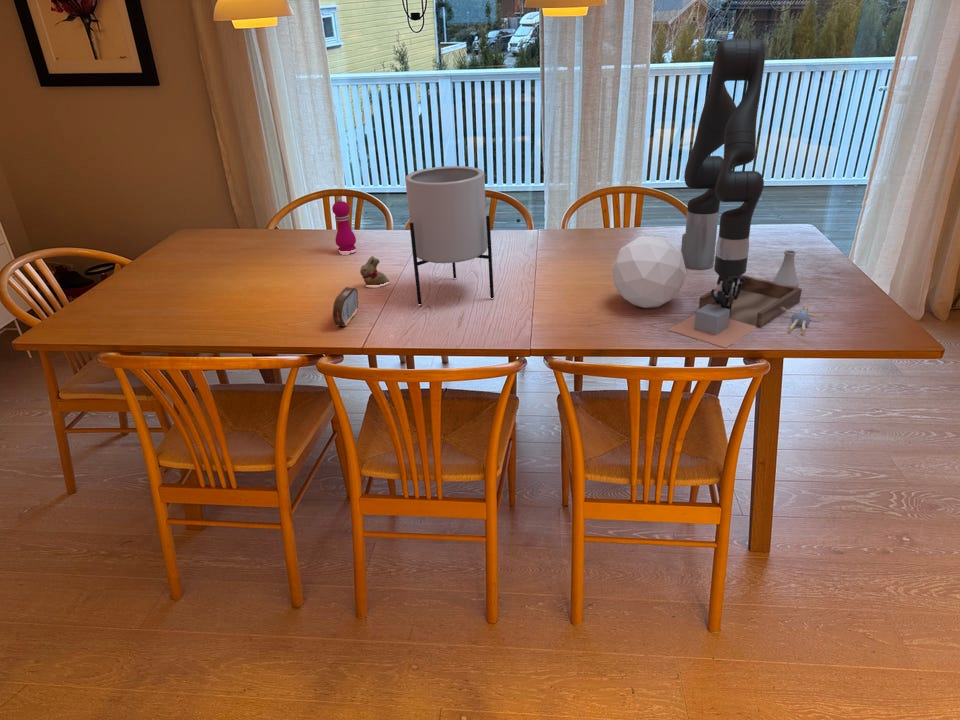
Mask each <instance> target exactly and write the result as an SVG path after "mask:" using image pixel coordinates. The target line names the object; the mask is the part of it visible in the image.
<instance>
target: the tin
mask: <svg viewBox="0 0 960 720" xmlns="http://www.w3.org/2000/svg"><path fill="white" fill-rule="evenodd" d="M357 308H358V309H359V295H358V290H357V288H355V287H349V286H345V287H344V288H343V289H342V291H340V293H338V295H337V296H336V298H335V300H334V303H333V307H332V319H333V322H334V326H336V325H345V323H346V321H347V320H348V319H349V318H350V317H351V316H352V314H353V313H354V312H355V310H356V309H357Z"/></svg>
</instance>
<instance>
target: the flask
mask: <svg viewBox="0 0 960 720" xmlns="http://www.w3.org/2000/svg"><path fill="white" fill-rule="evenodd" d="M783 254H784V257H783V261H782V263H781V266H780V268H779V270H778V272H777V273H776V275H775V277H774V279H773V280H772V282H775V283H780V284H784V285H788V286H793V287H797V288H799V285H800V284H799V280H798V277H797V276H798V275H797V271H796V267H795V256H796V255H797V251H796V250H791V249H786V250H785V249H784V251H783Z"/></svg>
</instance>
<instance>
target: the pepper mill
mask: <svg viewBox="0 0 960 720" xmlns="http://www.w3.org/2000/svg"><path fill="white" fill-rule="evenodd" d="M350 208H351V207H350V205H349V204H348V202H346V201H345V200H344V201H343V197H340V196H339V197H337V198H336V202H334V204H333V205H332V213H333V214H334V215H335V216H334V218H335V221H336V223H337V232H336V235H335V245H336V246H337V247H338V248H337V251H338V250H340V251H351V250H354V249H356V250H357V248H356V246H355V244H356V243H357V238H356V235H355V233H354V231H353V230H352V229H351V226H350V222H349V220H350V214H349V213H350V211H351V209H350Z"/></svg>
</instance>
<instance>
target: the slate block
mask: <svg viewBox="0 0 960 720" xmlns="http://www.w3.org/2000/svg"><path fill="white" fill-rule="evenodd" d="M694 315H695V324H694V329H696V330H699V331H703V332H706V333H709V334H712V335H717V334H719V333H720V332H722V331H724V330H725V329H727V328H728V324H729V315H730V309H726V308H723V307H719V306H715V305H712V304H707V305H705V306H703V307H702V308H700V309H699V308H698V309H696V310H695V314H694Z"/></svg>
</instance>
